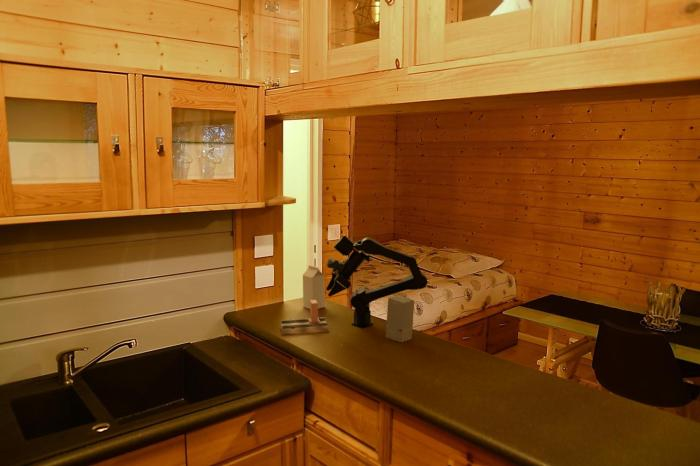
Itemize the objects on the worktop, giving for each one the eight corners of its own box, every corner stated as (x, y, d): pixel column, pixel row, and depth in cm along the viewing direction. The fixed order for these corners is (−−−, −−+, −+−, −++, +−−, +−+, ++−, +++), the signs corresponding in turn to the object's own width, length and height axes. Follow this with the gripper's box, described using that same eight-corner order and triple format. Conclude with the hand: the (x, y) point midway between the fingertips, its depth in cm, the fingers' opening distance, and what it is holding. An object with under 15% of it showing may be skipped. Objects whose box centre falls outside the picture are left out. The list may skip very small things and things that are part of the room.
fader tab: (318, 320, 219) (317, 299, 218) (319, 324, 215) (319, 303, 213) (308, 321, 219) (308, 300, 217) (309, 325, 214) (309, 303, 212)
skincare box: (385, 337, 206) (385, 297, 203) (397, 333, 211) (398, 294, 208) (401, 343, 200) (402, 302, 197) (414, 339, 204) (415, 298, 202)
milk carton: (312, 310, 240) (312, 269, 237) (303, 307, 245) (302, 266, 242) (325, 307, 245) (324, 266, 242) (315, 303, 250) (314, 264, 247)
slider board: (324, 323, 223) (324, 316, 222) (328, 331, 213) (328, 324, 213) (280, 326, 219) (280, 319, 219) (282, 334, 210) (282, 327, 209)
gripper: (335, 247, 224) (311, 275, 225) (339, 255, 206) (313, 286, 206) (355, 263, 226) (331, 291, 227) (361, 273, 208) (335, 303, 209)
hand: (327, 292), depth 217 cm, fingers open, 9 cm apart
